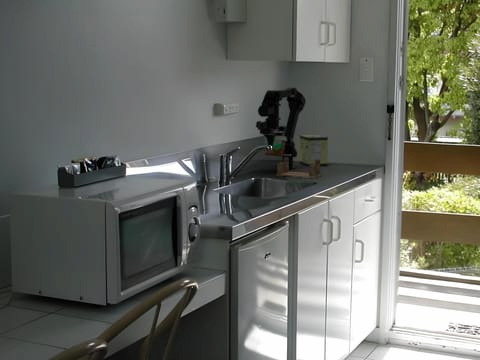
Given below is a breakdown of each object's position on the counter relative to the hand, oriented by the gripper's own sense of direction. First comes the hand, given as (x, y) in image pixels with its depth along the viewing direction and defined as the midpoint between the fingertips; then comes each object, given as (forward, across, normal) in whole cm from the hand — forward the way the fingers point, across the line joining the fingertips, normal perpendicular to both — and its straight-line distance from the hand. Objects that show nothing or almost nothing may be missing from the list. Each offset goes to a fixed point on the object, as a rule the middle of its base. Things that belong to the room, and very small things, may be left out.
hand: (273, 147), depth 363 cm
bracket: (+12, +7, +17) cm, 22 cm away
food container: (+4, +1, 0) cm, 4 cm away
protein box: (+13, -35, +7) cm, 38 cm away
